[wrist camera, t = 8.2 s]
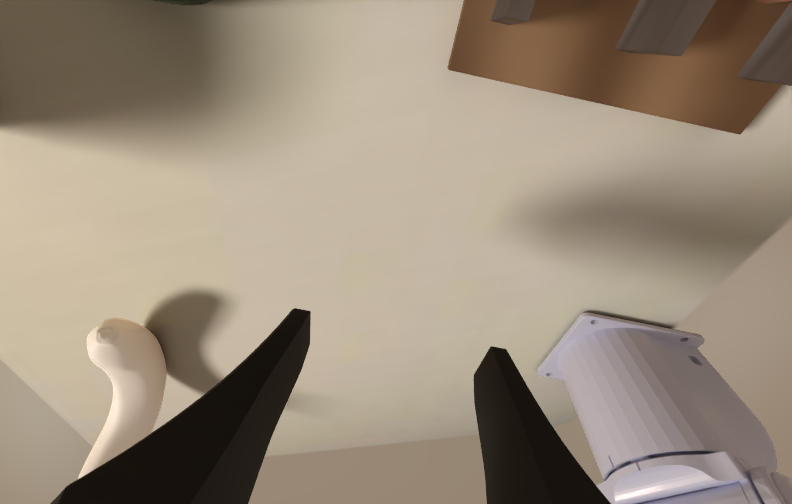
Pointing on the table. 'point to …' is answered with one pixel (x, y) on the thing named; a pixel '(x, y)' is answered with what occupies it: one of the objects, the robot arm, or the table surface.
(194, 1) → the coffee jar
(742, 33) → the slot rack
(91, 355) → the banana
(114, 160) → the table surface
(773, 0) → the salmon rectangular prism
